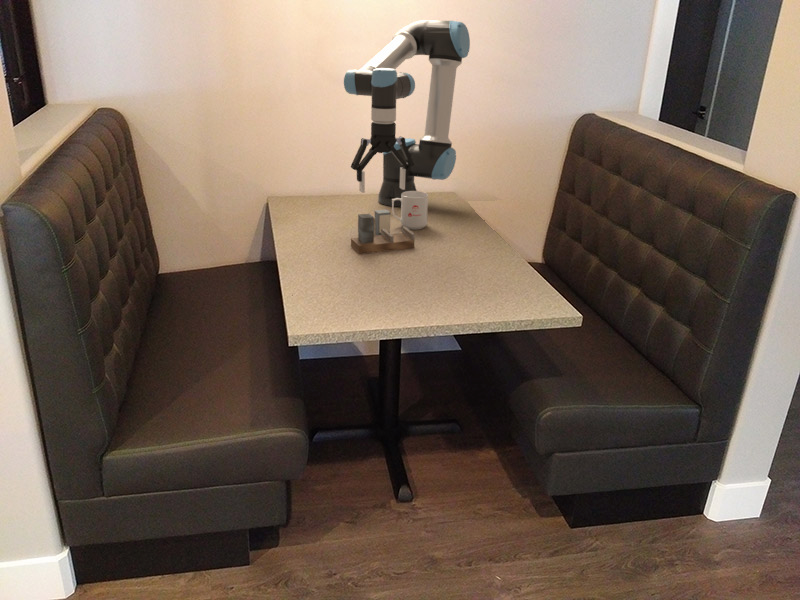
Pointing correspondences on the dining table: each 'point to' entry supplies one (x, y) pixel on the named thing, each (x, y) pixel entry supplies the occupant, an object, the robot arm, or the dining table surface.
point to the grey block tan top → (382, 221)
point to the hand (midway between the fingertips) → (382, 190)
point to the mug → (413, 209)
